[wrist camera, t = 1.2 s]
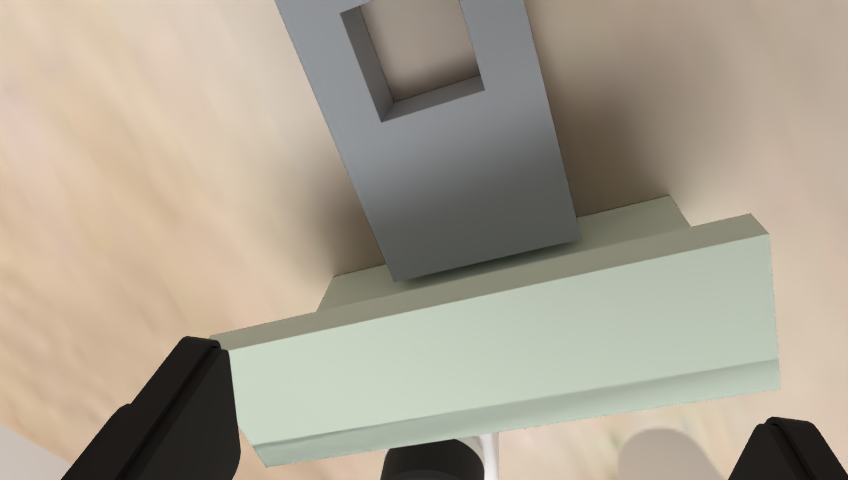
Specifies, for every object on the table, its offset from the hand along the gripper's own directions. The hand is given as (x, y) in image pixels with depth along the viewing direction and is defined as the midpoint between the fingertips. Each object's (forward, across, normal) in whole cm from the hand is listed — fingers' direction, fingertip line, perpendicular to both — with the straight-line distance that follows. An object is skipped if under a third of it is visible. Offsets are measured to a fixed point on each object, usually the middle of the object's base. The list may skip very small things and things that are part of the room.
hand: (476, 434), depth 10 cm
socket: (+24, +3, 0) cm, 24 cm away
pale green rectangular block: (+24, 0, +7) cm, 25 cm away
